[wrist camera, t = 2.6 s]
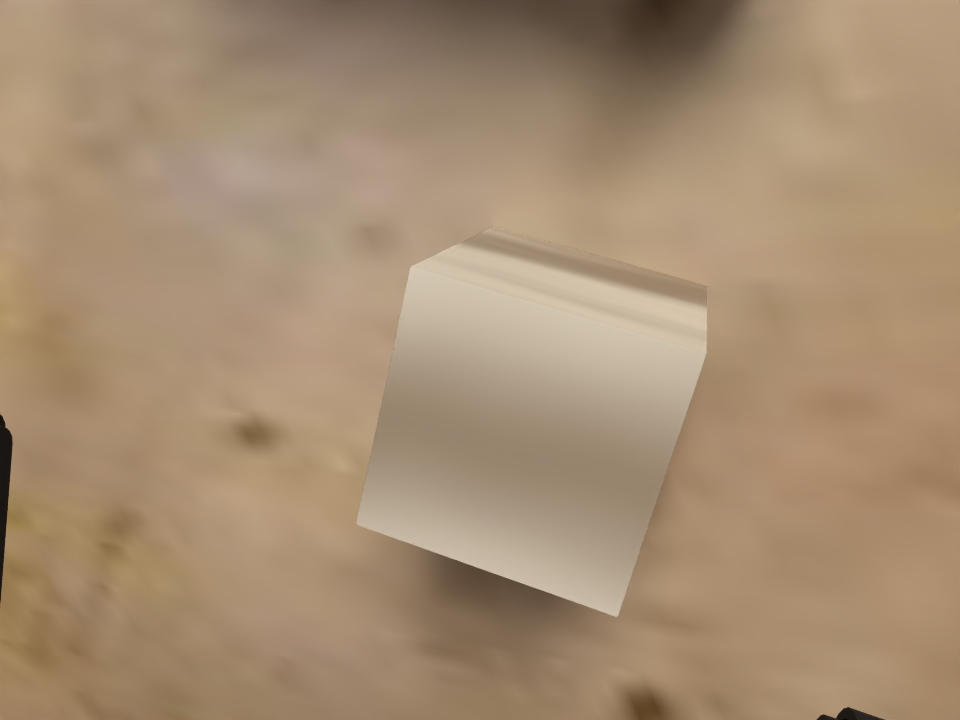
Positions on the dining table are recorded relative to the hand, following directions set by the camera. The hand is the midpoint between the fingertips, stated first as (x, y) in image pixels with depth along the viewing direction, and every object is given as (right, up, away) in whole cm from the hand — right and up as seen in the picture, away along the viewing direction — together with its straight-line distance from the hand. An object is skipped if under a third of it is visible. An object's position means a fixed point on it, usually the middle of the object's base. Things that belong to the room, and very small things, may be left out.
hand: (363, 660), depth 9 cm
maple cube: (+3, +3, +11) cm, 12 cm away
